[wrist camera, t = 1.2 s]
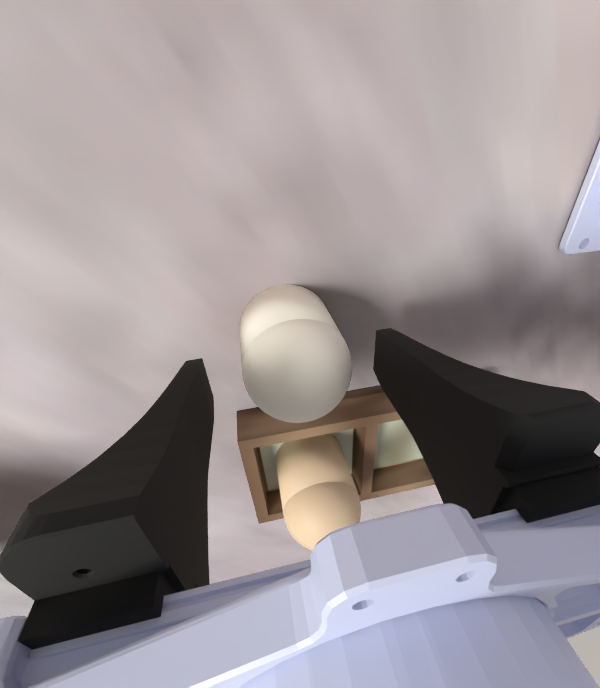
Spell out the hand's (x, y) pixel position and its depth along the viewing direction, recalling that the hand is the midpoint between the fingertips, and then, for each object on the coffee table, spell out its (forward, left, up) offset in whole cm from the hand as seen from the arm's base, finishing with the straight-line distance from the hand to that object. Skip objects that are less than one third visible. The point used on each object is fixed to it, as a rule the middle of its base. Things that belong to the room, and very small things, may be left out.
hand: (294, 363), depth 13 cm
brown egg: (-1, +9, -2) cm, 9 cm away
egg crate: (-4, +9, -3) cm, 10 cm away
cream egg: (0, 0, -3) cm, 3 cm away
